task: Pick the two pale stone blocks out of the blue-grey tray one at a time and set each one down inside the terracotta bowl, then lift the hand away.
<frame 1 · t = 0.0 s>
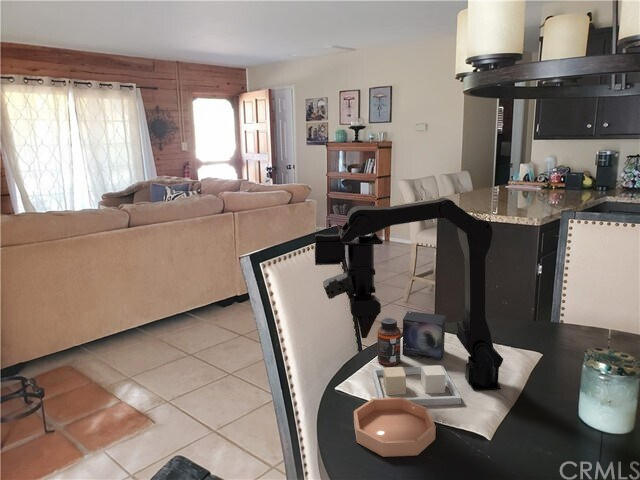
hand: (361, 329, 108), 15 cm above the table, tool pointing down, fingers open, 9 cm apart
bowl: (393, 431, 95), on the table
tray: (413, 388, 110), on the table
supplement bottle: (388, 361, 124), on the table
small box: (423, 353, 128), on the table
pale stone: (432, 388, 111), on the table
sand stone: (394, 389, 110), on the table
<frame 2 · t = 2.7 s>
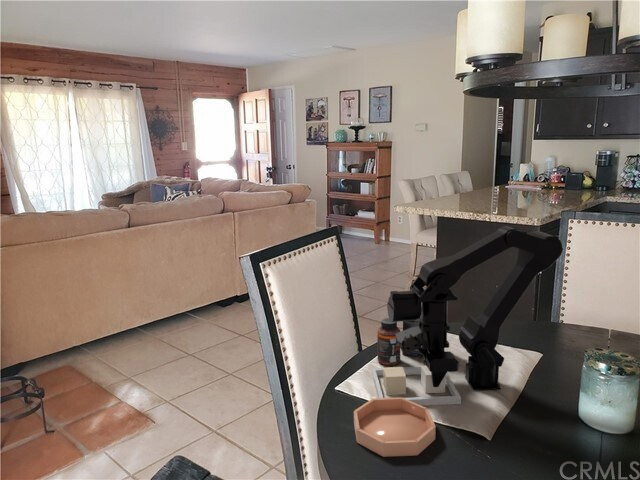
hand: (432, 381, 110), 2 cm above the table, tool pointing down, fingers closed on pale stone, 4 cm apart
pale stone: (432, 387, 111), on the table, touching gripper
everything else where it was.
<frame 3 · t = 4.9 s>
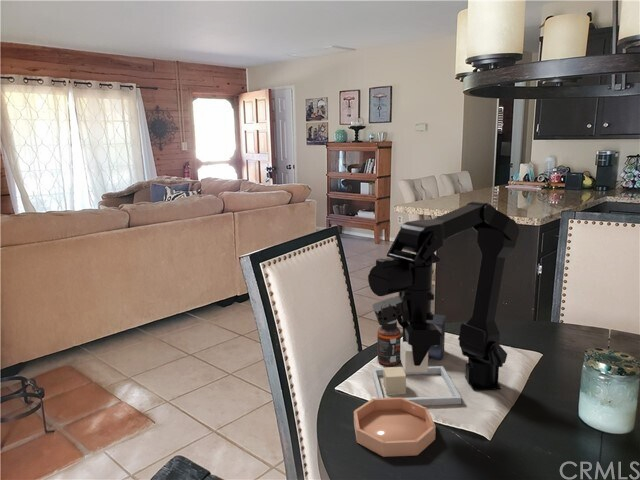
hand: (414, 359, 96), 13 cm above the table, tool pointing down, fingers closed on pale stone, 4 cm apart
pale stone: (414, 366, 97), point 11 cm above the table, touching gripper
everything else where it was.
when the fingers open (3 cm above the table, at t = 7.3 s): pale stone drops 2 cm, resting on bowl.
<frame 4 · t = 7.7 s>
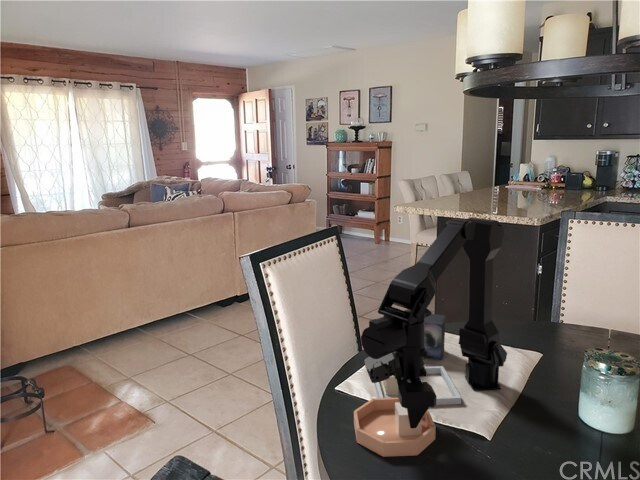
hand: (408, 414, 94), 3 cm above the table, tool pointing down, fingers open, 8 cm apart
pale stone: (407, 428, 95), resting on bowl
everything else where it was.
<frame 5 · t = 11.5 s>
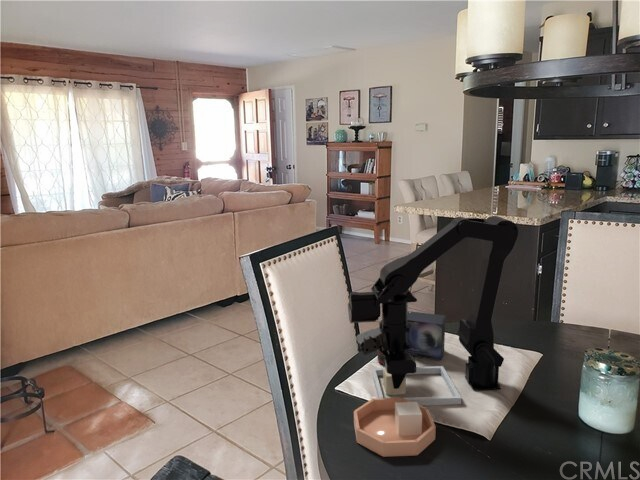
hand: (394, 383, 110), 2 cm above the table, tool pointing down, fingers closed on sand stone, 4 cm apart
sand stone: (394, 389, 110), on the table, touching gripper
everything else where it was.
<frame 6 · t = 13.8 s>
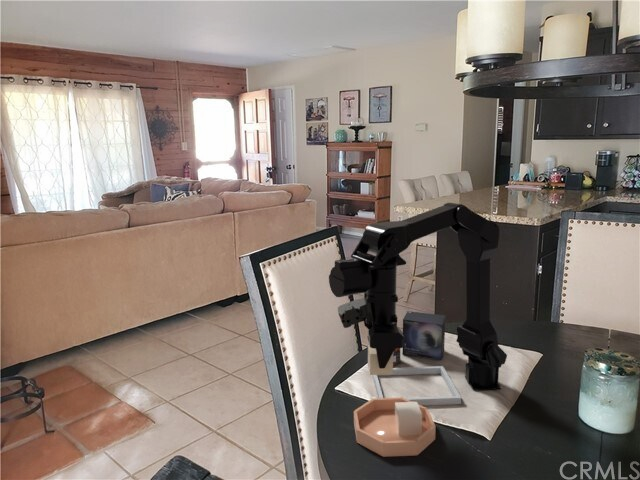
hand: (380, 362, 96), 13 cm above the table, tool pointing down, fingers closed on sand stone, 4 cm apart
sand stone: (380, 369, 96), point 11 cm above the table, touching gripper
everything else where it was.
when the fingers open (3 cm above the table, at t = 16.2 s): sand stone drops 2 cm, resting on bowl.
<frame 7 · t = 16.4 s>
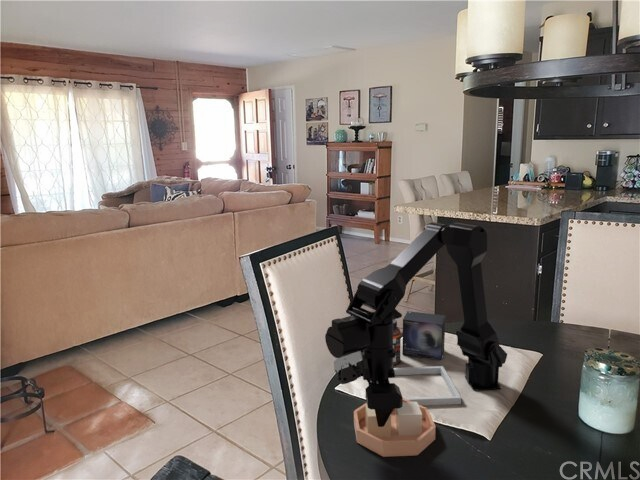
hand: (378, 415, 94), 3 cm above the table, tool pointing down, fingers open, 7 cm apart
sand stone: (378, 429, 95), resting on bowl
everything else where it was.
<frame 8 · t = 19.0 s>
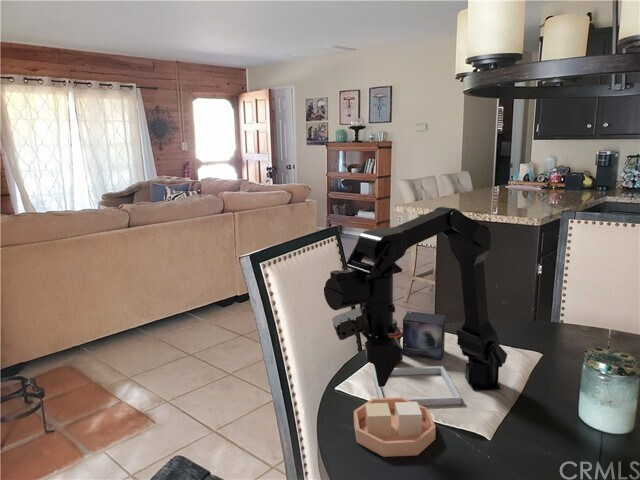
hand: (377, 374, 92), 12 cm above the table, tool pointing down, fingers open, 9 cm apart
nothing on the table moved.
at the end: pale stone inside the target area on the bowl (2.9 cm from its centre), point 0.4 cm above the bowl's base; sand stone inside the target area on the bowl (3.1 cm from its centre), point 0.4 cm above the bowl's base; the gripper is holding nothing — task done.
